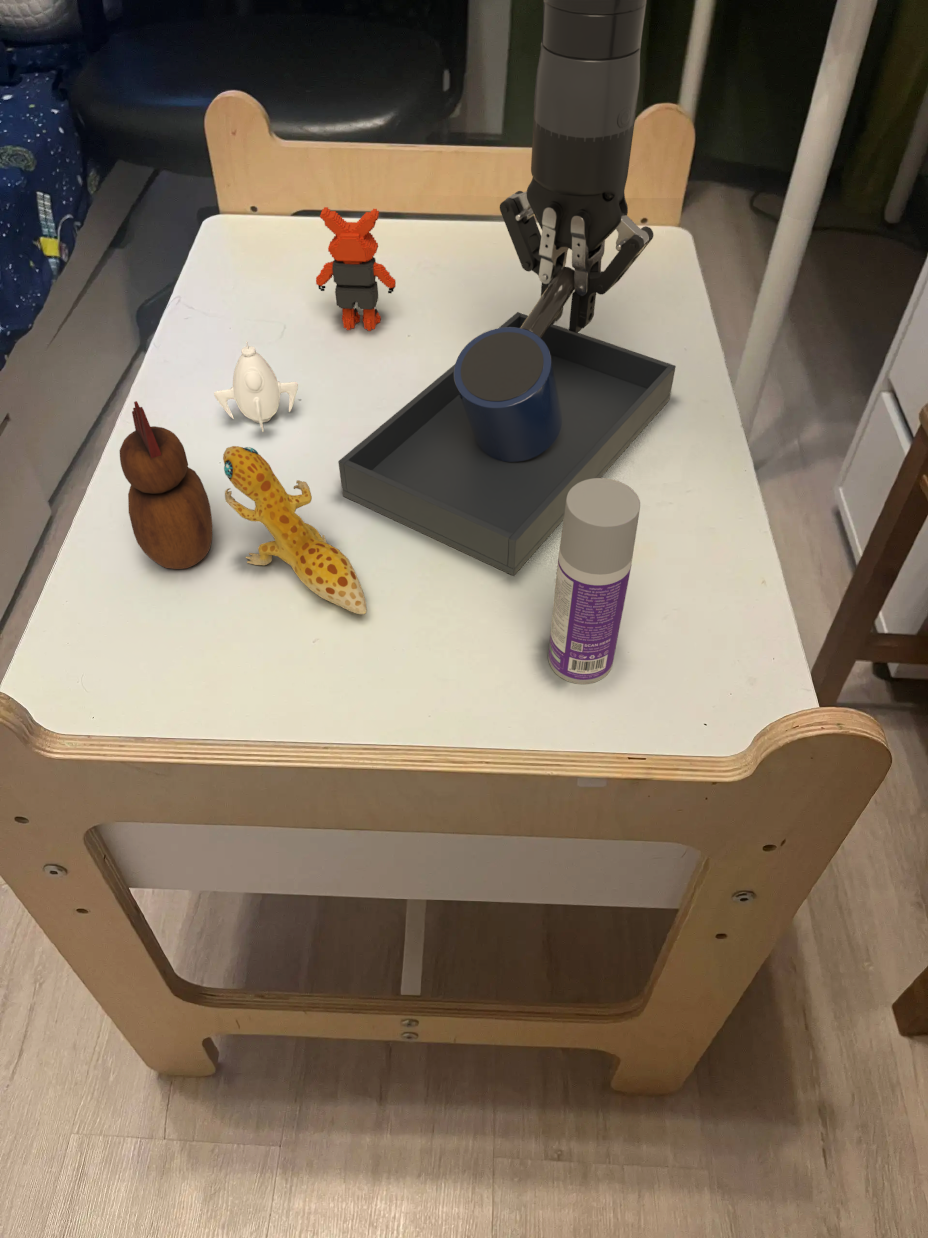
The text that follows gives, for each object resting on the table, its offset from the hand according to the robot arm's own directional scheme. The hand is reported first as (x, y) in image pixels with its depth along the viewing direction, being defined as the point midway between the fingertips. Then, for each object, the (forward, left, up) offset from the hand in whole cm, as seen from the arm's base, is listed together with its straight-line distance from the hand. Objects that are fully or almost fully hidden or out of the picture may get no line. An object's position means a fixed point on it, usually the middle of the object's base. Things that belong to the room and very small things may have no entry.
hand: (565, 322), depth 81 cm
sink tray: (0, +8, -8) cm, 11 cm away
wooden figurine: (+15, +34, -9) cm, 38 cm away
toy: (+4, +30, -9) cm, 32 cm away
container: (-17, +26, -9) cm, 33 cm away
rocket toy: (+22, +17, -9) cm, 29 cm away
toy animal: (+25, -2, -9) cm, 26 cm away
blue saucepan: (0, +4, -5) cm, 7 cm away
